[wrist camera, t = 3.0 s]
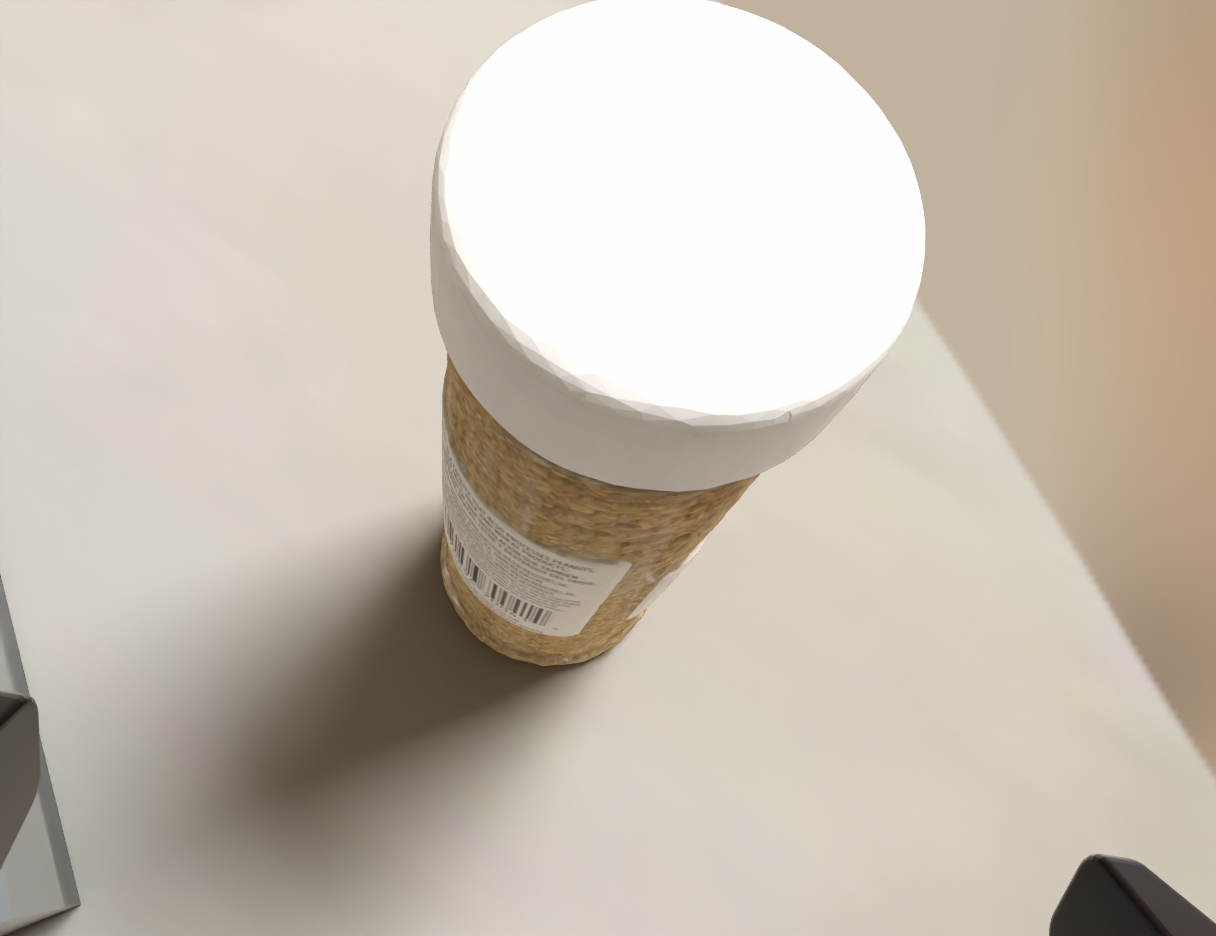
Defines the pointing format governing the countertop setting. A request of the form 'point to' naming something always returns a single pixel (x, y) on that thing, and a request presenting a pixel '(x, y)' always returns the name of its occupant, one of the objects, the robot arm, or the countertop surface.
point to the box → (32, 826)
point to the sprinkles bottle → (646, 300)
